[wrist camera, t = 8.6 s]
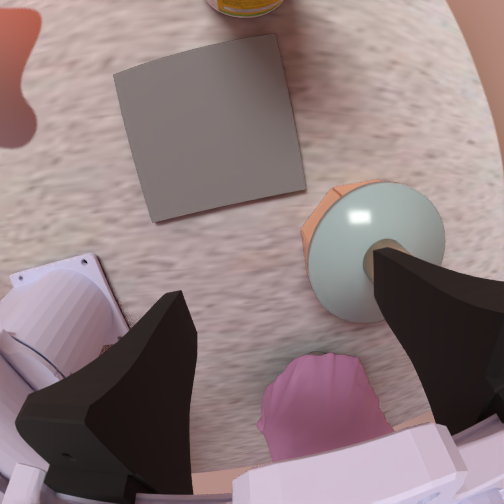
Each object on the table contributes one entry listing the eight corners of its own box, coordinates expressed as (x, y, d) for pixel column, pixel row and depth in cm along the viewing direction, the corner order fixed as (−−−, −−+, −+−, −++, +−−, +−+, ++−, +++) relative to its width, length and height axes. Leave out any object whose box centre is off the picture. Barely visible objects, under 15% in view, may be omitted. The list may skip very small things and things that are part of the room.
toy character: (240, 340, 25) (254, 606, 7) (366, 315, 25) (474, 544, 6) (262, 423, 30) (280, 602, 12) (359, 404, 30) (413, 571, 12)
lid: (320, 332, 21) (337, 378, 17) (290, 204, 17) (307, 234, 13) (438, 291, 20) (469, 327, 16) (434, 166, 16) (479, 185, 12)
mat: (153, 220, 20) (152, 222, 20) (115, 75, 16) (113, 74, 16) (304, 187, 20) (305, 189, 20) (274, 34, 16) (275, 33, 16)
